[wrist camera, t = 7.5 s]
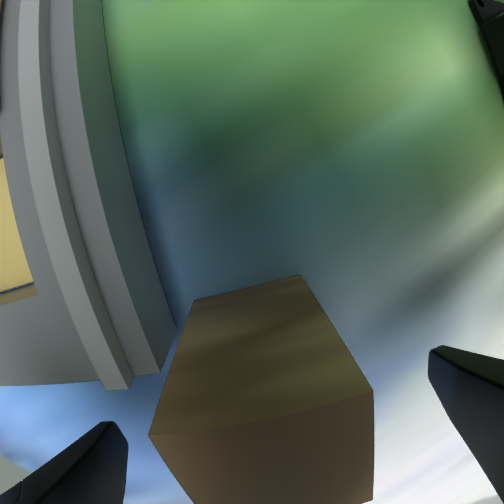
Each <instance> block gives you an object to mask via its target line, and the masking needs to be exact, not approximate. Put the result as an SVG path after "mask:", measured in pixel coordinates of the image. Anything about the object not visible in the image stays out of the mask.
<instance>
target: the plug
mask: <svg viewBox="0 0 504 504" xmlns="http://www.w3.org/2000/svg"><path fill="white" fill-rule="evenodd" d="M148 437H149V438H150V440H151V442H152V443H153V445H154V446H155V448H156V450H157V451H158V453H159V454H160V456H161V457H162V459H163V460H164V462H165V464H166V465H167V467H168V468H169V469H170V471H171V472H172V474H173V475H174V477H175V478H176V480H177V481H178V483H179V484H180V485H181V487H182V488H183V490H184V491H185V492H186V494H187V495H188V496H189V498H190V499H191V500H192V502H193V503H194V504H362V503H365V502H368V501H371V500H373V482H374V399H373V389H372V388H371V386H370V384H369V383H368V381H367V379H366V378H365V376H364V374H363V373H362V371H361V370H360V368H359V366H358V365H357V363H356V361H355V360H354V358H353V357H352V355H351V353H350V352H349V350H348V348H347V347H346V345H345V344H344V342H343V340H342V339H341V337H340V336H339V334H338V332H337V331H336V329H335V328H334V326H333V325H332V323H331V321H330V320H329V318H328V317H327V315H326V313H325V312H324V310H323V309H322V307H321V306H320V304H319V302H318V301H317V299H316V298H315V296H314V295H313V293H312V291H311V290H310V288H309V287H308V285H307V284H306V282H305V281H304V279H303V277H302V276H301V275H297V276H293V277H290V278H286V279H282V280H277V281H273V282H269V283H265V284H261V285H257V286H253V287H249V288H245V289H240V290H236V291H232V292H228V293H223V294H219V295H215V296H211V297H206V298H202V299H197V300H194V302H193V304H192V307H191V310H190V313H189V315H188V318H187V321H186V324H185V327H184V329H183V332H182V335H181V338H180V341H179V344H178V347H177V349H176V352H175V355H174V358H173V361H172V364H171V367H170V370H169V373H168V376H167V379H166V382H165V385H164V388H163V391H162V394H161V397H160V400H159V403H158V406H157V409H156V412H155V415H154V418H153V421H152V424H151V427H150V431H149V434H148Z"/></svg>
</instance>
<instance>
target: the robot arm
mask: <svg viewBox="0 0 504 504" xmlns="http://www.w3.org/2000/svg"><path fill="white" fill-rule="evenodd" d="M469 2H470V5H471V7H472V9H473V11H474V13H475V16H476V18H477V20H478V22H479V25H480V27H481V30H482V32H483V34H484V37H485V39H486V42H487V45H488V47H489V50H490V53H491V55H492V58H493V61H494V64H495V67H496V70H497V73H498V76H499V80H500V83H501V86H502V90H503V94H504V4H503V3H500V2H497V1H494V0H469ZM428 378H429V381H430V383H431V384H432V386H433V388H434V390H435V392H436V394H437V396H438V398H439V399H440V401H441V403H442V405H443V407H444V409H445V411H446V413H447V415H448V417H449V418H450V420H451V422H452V423H453V425H454V426H455V428H456V429H457V431H458V432H459V434H460V435H461V437H462V438H463V440H464V441H465V443H466V444H467V446H468V447H469V449H470V450H471V452H472V453H473V455H474V457H475V458H476V460H477V461H478V463H479V464H480V466H481V468H482V469H483V471H484V472H485V474H486V475H487V477H488V479H489V480H490V482H491V484H492V485H493V487H494V489H495V490H496V492H497V494H498V495H499V497H500V499H501V500H502V502H503V503H504V360H502V359H498V358H493V357H489V356H485V355H481V354H477V353H473V352H469V351H464V350H460V349H456V348H452V347H448V346H444V345H441V346H438V347H436V348H434V349H431V350H430V352H429V359H428ZM127 459H128V442H127V440H126V438H125V437H124V435H123V434H122V432H121V430H120V429H119V427H118V425H117V424H116V423H115V422H113V421H103V422H100V423H99V424H98V425H96V426H95V427H94V428H92V429H91V430H90V431H88V432H87V433H86V434H84V435H83V436H82V437H80V438H79V439H78V440H76V441H75V442H74V443H73V444H71V445H70V446H68V447H67V448H66V449H64V450H63V451H62V452H60V453H59V454H58V455H56V456H55V457H54V458H52V459H51V460H50V461H48V462H47V463H45V464H44V465H43V466H41V467H40V468H39V469H37V470H36V471H34V472H33V473H32V474H30V475H29V476H27V477H26V478H25V479H23V481H20V482H19V483H17V484H16V485H15V486H13V487H12V488H10V489H9V490H7V491H6V492H4V493H3V494H1V495H0V504H123V500H124V494H125V486H126V473H127Z"/></svg>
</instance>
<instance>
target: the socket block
mask: <svg viewBox="0 0 504 504" xmlns="http://www.w3.org/2000/svg"><path fill="white" fill-rule="evenodd" d="M31 282H34V283H32V284H29V285H25V286H22V287H19V288H15V289H12V290H9V291H6V292H2V293H0V386H24V385H47V384H63V383H76V382H88V381H98V380H101V382H102V384H103V386H104V388H105V390H106V391H114V390H124V389H129V387H130V384H131V382H132V380H133V378H134V376H140V375H147V374H154V373H160V372H161V370H162V367H163V364H164V362H165V359H166V357H167V354H168V351H169V349H170V346H171V344H172V341H173V338H174V336H175V333H176V331H177V329H176V326H175V323H174V321H173V318H172V315H171V312H170V309H169V306H168V303H167V300H166V297H165V294H164V291H163V288H162V285H161V282H160V279H159V276H158V273H157V269H156V266H155V263H154V260H153V257H152V253H151V250H150V246H149V243H148V240H147V236H146V233H145V229H144V226H143V222H142V218H141V215H140V211H139V207H138V203H137V200H136V196H135V192H134V188H133V184H132V180H131V175H130V171H129V167H128V163H127V158H126V154H125V149H124V145H123V140H122V135H121V130H120V126H119V120H118V115H117V110H116V105H115V99H114V93H113V87H112V81H111V75H110V69H109V62H108V55H107V47H106V39H105V31H104V22H103V12H102V0H2V1H1V9H0V292H1V291H4V290H8V289H11V288H14V287H17V286H21V285H24V284H27V283H31Z"/></svg>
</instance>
